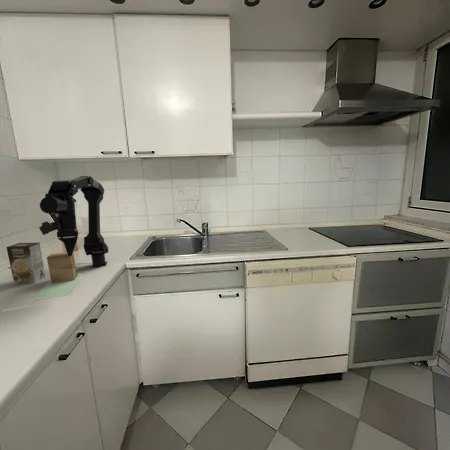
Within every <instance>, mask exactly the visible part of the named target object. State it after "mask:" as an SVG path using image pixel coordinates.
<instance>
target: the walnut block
mask: <svg viewBox="0 0 450 450" xmlns="http://www.w3.org/2000/svg"><path fill="white" fill-rule="evenodd" d="M46 261H47V266H48V272H49V277H50V279H51V282H52V284H53V283H59V282H66V281H72V280H75V279H76V277H77V274H78V272H77V271H78V270H77V265H76V259H75V254H74V251H73V254H72V256H68V254H67V251H65V252H57V253H51V254H49V255H48V256H47V257H46Z"/></svg>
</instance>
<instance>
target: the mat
mask: <svg viewBox="0 0 450 450" xmlns="http://www.w3.org/2000/svg"><path fill="white" fill-rule="evenodd" d="M84 274H85V273H84V272H82V273H77V277H76V279H75V280H72V281H66V282H59V283H53V284H52V282H51V278H50V279H49V280H48V281H47V283H46V284H45V285H44V286H43V287H42V288H41V289H40V290H39V291H38V292H37V294H36V295H35V296H34V297H33V298H32V299H31V300H30V302H34V301H40V300H47V299H53V298H58V297H64V296H70V295H72V293H73V292H74V290H75V289H76V287H77V285H78V284H79V282H80V280H81V278H82V277H83V275H84Z"/></svg>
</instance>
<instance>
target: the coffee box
mask: <svg viewBox="0 0 450 450" xmlns="http://www.w3.org/2000/svg"><path fill="white" fill-rule="evenodd" d="M5 248H6V253H7V257H8V262H9V266H10V270H11V276H12V280H13V281H12V282H13V284H14V285H18V284H19V285H20V284H36V283H38V282H39V281H41V280H43V279H45V278H46V270H45V264H44V260H43V255H42V249H41V243H40V242H18V243H15V244H12V245H9V246H6V247H5Z"/></svg>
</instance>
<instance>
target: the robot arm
mask: <svg viewBox="0 0 450 450" xmlns="http://www.w3.org/2000/svg"><path fill="white" fill-rule="evenodd" d="M79 191H81V192H82V194H83V198H84V199H85V200H86V202H87V208H88V210H87V212H88V213H87V214H88V216H87V217H88V221H87V222H88V223H87V224H88V233H87V234H86V236H84V238H83V250H84V252H85V255H86V256H91V266H90V268H91V269H95V268H101V267H102V268H103V267H106V266H107V265H108V261H106V256H105V255H106V254H108V253H109V246H108V244H107V243H106V242H105V239H104V236H103V235H102V234H101V215H100V213H101V209H100V208H101V207H100V206H101V205H100V204H101V203H102V201H103V199H104V195H105V188H104V187H103V186H102V183H100V181H97V180H95V179H94V178H93V177H92V176H90V175H80V176H78V177H76V178H72V179H69V180H64V179H63V180H53V181H52V183H51V184H50V187H49V190H48V192H47V193H45V194H44V196H45V197H43V198H42V199H41V200H40V202H39V208H40V210H41V211H42V212H43V213H45V214H51V215H52V214H53V215H55V214H57V215H56V218H55V219H56V221H52V222H49V221H47V220H46V221H43V222H42V223H41V226H38V229H39V231H40V232H41V234H42V236H44V235H47V234H49V233H50V232H55V231H57V232H56V238H57V239H58V240H59V241H61V242H62V243H63V246H64V248H65V250H66V251H65V252H67V254H68V256H72V254H73V252H74V250H75V248H76V247H75V246H76V245H77V241H78V239H79V230H78V228H77V226H78V225H77V218H76V217H77V215H76V205H75V203H77V200H76V198H74V196H76V194H78V193H79Z"/></svg>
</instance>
